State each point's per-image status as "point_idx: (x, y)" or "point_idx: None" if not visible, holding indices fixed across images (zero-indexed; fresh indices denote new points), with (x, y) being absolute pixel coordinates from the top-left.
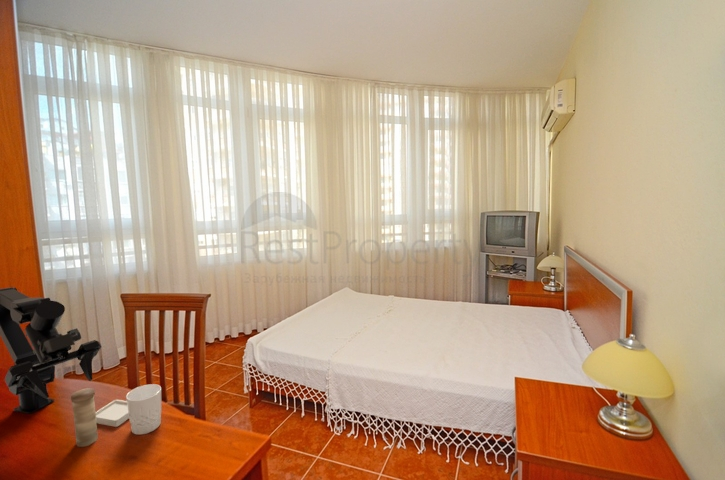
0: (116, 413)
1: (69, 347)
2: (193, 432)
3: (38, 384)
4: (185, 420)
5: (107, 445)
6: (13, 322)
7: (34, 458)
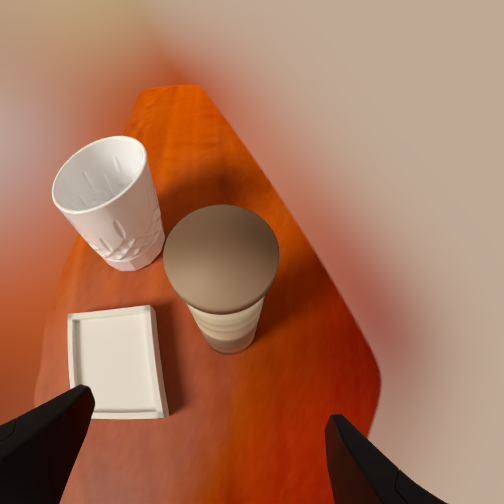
0: (118, 353)
1: None
2: None
3: (396, 481)
4: None
5: None
6: None
7: (334, 382)
